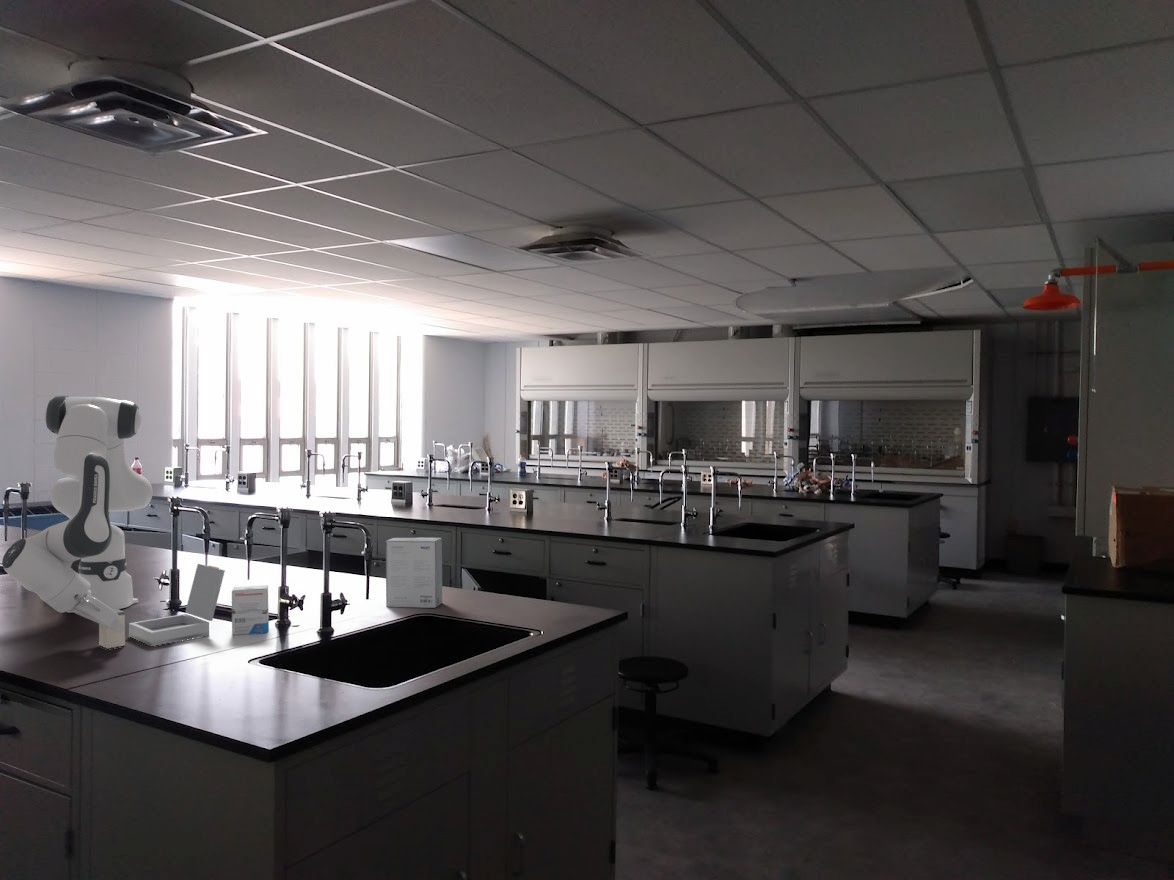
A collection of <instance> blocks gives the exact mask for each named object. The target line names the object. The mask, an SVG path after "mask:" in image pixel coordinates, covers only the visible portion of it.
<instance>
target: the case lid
mask: <svg viewBox="0 0 1174 880" xmlns="http://www.w3.org/2000/svg"><path fill="white" fill-rule="evenodd" d="M225 571H226V570H224V569H220V568H219V567H217V566H213V565H206V564H202V563H197V565H196V569H195V573H194V576H193V581H192V584H191V588H190V592H189V597H188V600H187V605H186V608H185V612H184V613H185V614H186V613H187V614H188V615H190V616H193V617H196V618H199V619H202V620H205V621H207V622H213V618H214V615H215V612H216V611H215V610H216V608H217V603H218V599H219V596H220V591H221V586H222V583H223V579H224V576H225Z"/></svg>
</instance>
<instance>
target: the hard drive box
mask: <svg viewBox="0 0 1174 880" xmlns="http://www.w3.org/2000/svg"><path fill="white" fill-rule="evenodd" d="M442 540H443V539H442V537H392V538H389V539H387V540H385V598H386V600H385V601H386V603H385V604H386V607H387V608H419V609H423V608H424V609H427V608H428V609H429V608H431V609H432V608H437V607H439V606H440V605H441V604H443V549H442V548H443V541H442Z"/></svg>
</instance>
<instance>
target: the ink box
mask: <svg viewBox="0 0 1174 880" xmlns="http://www.w3.org/2000/svg"><path fill="white" fill-rule="evenodd" d="M269 619H270V618H269V585H268V584H264V585H248V586H246V585H245V586H244V585H243V586H234V587H233V589H232V590H231V635H233V636H234V635H236V636H237V635H239V634H240V635H253V633H256V634H267V633H268V632H269V629H270V628H269V626H270V625H269V622H270V621H269ZM266 632H267V633H266Z"/></svg>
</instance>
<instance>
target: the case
mask: <svg viewBox="0 0 1174 880" xmlns="http://www.w3.org/2000/svg"><path fill="white" fill-rule="evenodd" d="M203 636H206V637H210V621H208V620H205V619H202V618H199V617H197V616H194V615H191V614H188V613H187V614H186V613H183V614H175V615H171V616H170V615H169V616H165V617H158V618H153V619H147V620H140V621H133V622H129V623H128V637H129V638H130V637H132V638H134V639H136V640H135V641H137V640H138V641H137V642H139V641H141V642H143V643H145V644H144V645H146V644H147V645H146V646H148V645H149V646H148V647H150V646H154V647H157V646H156V645H159V646H162V645H161V644H165V645H167V644H166V643H170V644H173V643H172V642H175V643H177V642H176V641H180V642H183V641H182V640H185V641H188V640H187V639H191V640H193V639H192V638H196V639H198V638H197V637H201V638H204V637H203ZM132 638H131V639H132ZM134 639H133V640H134ZM141 642H140V643H141ZM143 643H142V644H143Z"/></svg>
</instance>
